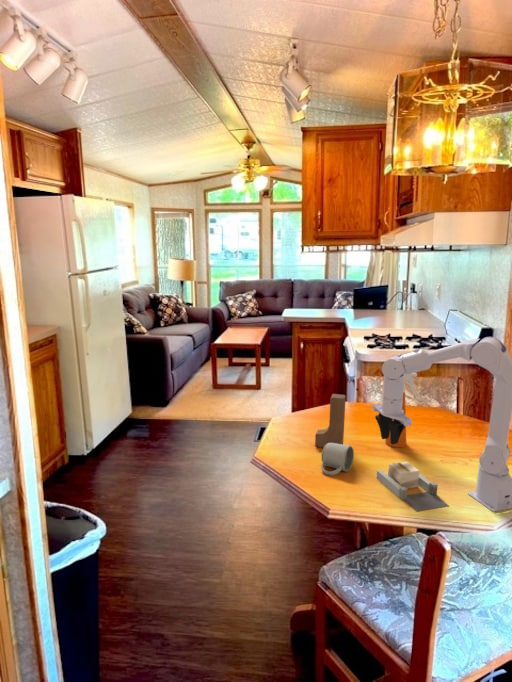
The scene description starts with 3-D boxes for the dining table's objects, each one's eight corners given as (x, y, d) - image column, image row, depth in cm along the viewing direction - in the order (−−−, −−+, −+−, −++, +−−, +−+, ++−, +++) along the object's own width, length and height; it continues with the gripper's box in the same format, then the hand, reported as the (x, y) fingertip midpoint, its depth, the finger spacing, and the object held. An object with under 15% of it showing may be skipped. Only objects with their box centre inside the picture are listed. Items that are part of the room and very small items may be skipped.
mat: (449, 506, 126) (449, 506, 126) (416, 512, 123) (416, 511, 123) (430, 491, 134) (430, 491, 134) (399, 496, 131) (399, 496, 131)
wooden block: (314, 446, 163) (316, 395, 159) (317, 441, 167) (319, 392, 163) (341, 450, 160) (344, 398, 156) (343, 444, 164) (345, 394, 161)
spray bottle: (410, 453, 158) (416, 376, 153) (381, 443, 166) (386, 369, 160) (420, 446, 163) (426, 372, 158) (391, 437, 171) (396, 366, 165)
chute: (436, 495, 132) (437, 484, 131) (401, 500, 129) (402, 489, 128) (408, 473, 144) (409, 463, 143) (376, 478, 141) (377, 468, 140)
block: (417, 486, 136) (419, 470, 135) (399, 489, 134) (400, 472, 133) (405, 477, 141) (406, 461, 140) (387, 479, 140) (388, 463, 139)
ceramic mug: (329, 459, 153) (330, 436, 151) (353, 465, 149) (354, 442, 147) (315, 472, 144) (315, 449, 143) (340, 480, 140) (341, 455, 138)
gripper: (421, 402, 136) (417, 447, 139) (386, 389, 149) (383, 430, 151) (402, 406, 133) (398, 452, 136) (368, 391, 146) (365, 433, 148)
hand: (389, 440), depth 143 cm, fingers open, 3 cm apart
